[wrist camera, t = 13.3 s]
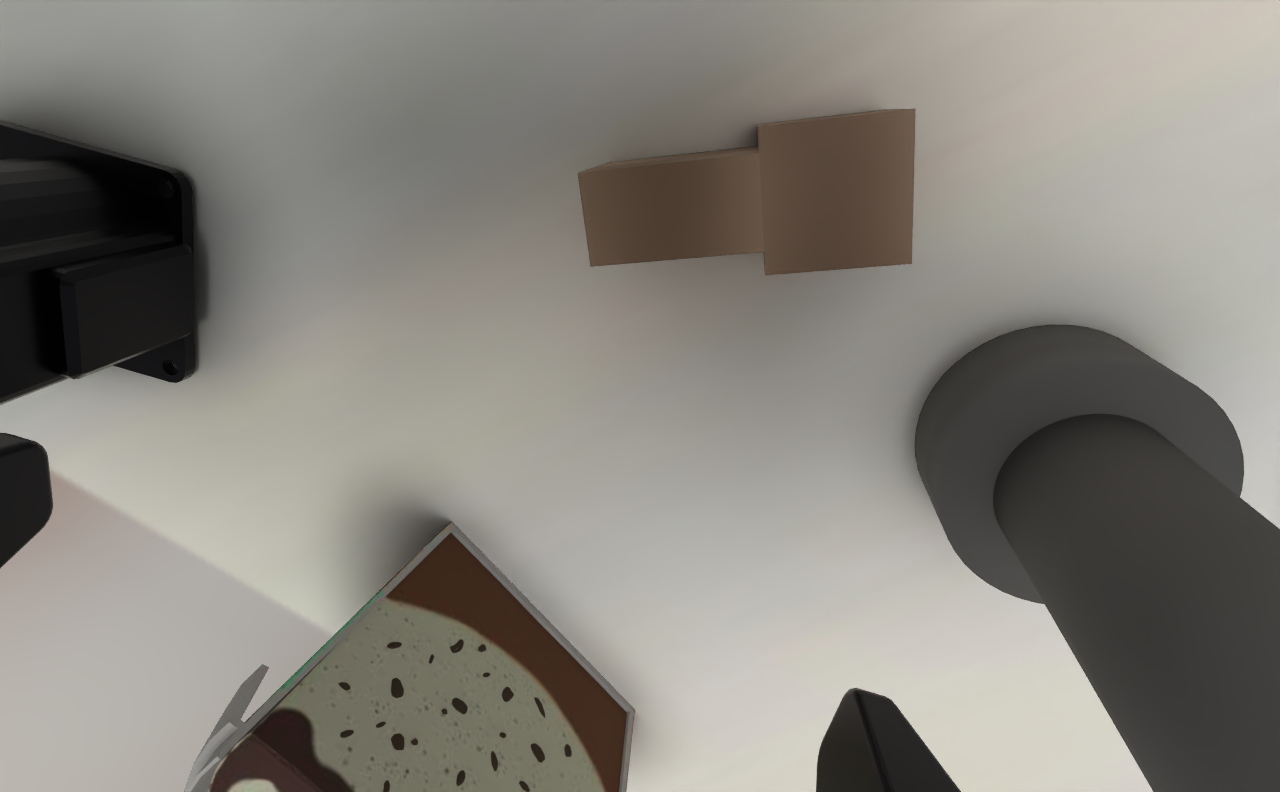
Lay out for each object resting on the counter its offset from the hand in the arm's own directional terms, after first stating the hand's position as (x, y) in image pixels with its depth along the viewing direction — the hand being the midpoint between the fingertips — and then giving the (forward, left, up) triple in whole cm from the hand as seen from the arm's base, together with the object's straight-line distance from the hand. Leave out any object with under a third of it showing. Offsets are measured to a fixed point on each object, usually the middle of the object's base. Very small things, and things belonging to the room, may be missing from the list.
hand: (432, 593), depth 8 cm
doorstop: (+12, -1, -13) cm, 18 cm away
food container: (-2, -14, -13) cm, 19 cm away
